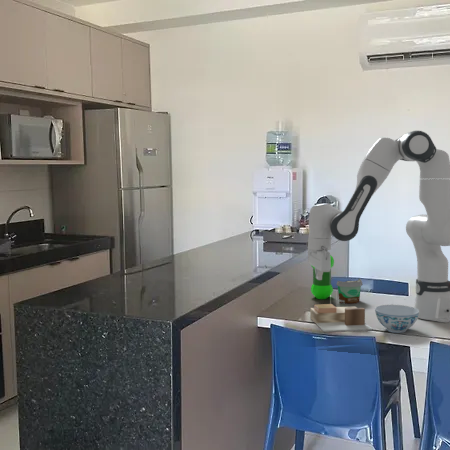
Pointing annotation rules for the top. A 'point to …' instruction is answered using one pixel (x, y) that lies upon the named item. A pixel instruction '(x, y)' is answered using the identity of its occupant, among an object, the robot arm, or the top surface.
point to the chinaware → (396, 317)
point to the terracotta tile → (325, 308)
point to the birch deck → (329, 315)
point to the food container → (349, 291)
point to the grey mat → (342, 327)
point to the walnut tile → (354, 316)
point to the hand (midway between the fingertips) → (318, 279)
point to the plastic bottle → (322, 284)
